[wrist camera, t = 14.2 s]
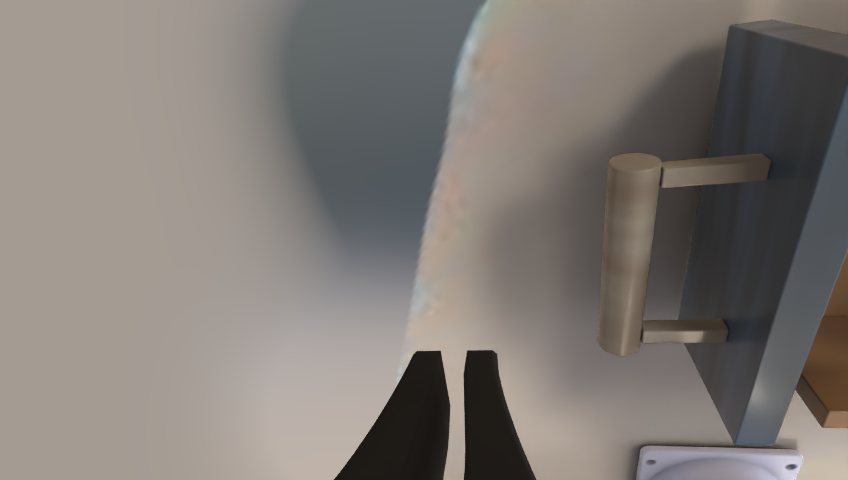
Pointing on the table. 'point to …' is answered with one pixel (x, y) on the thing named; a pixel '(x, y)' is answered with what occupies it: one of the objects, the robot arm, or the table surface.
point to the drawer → (750, 236)
